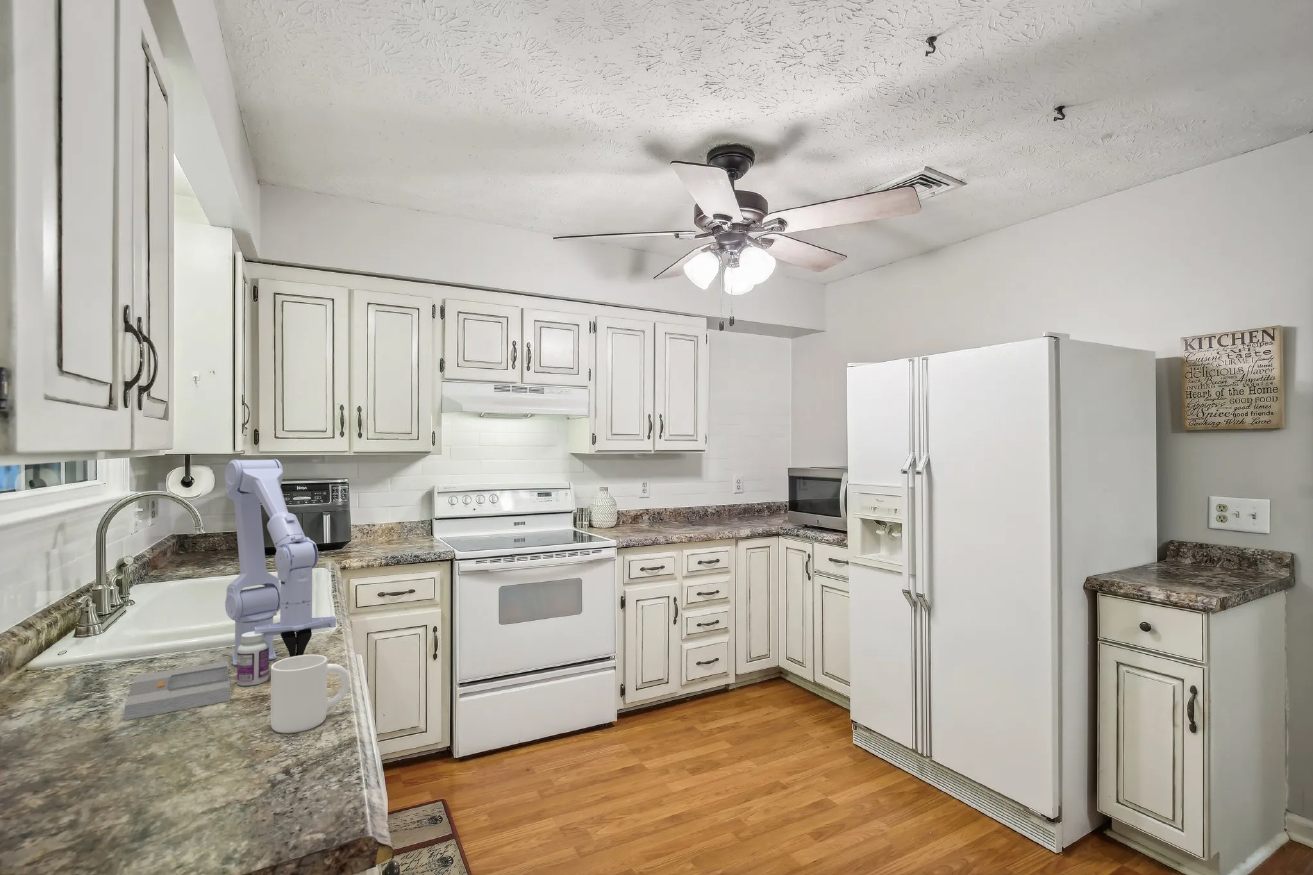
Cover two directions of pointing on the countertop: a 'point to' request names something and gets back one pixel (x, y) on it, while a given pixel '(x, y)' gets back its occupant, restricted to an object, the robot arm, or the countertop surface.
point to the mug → (303, 692)
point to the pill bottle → (252, 659)
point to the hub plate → (178, 690)
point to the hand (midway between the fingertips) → (295, 667)
